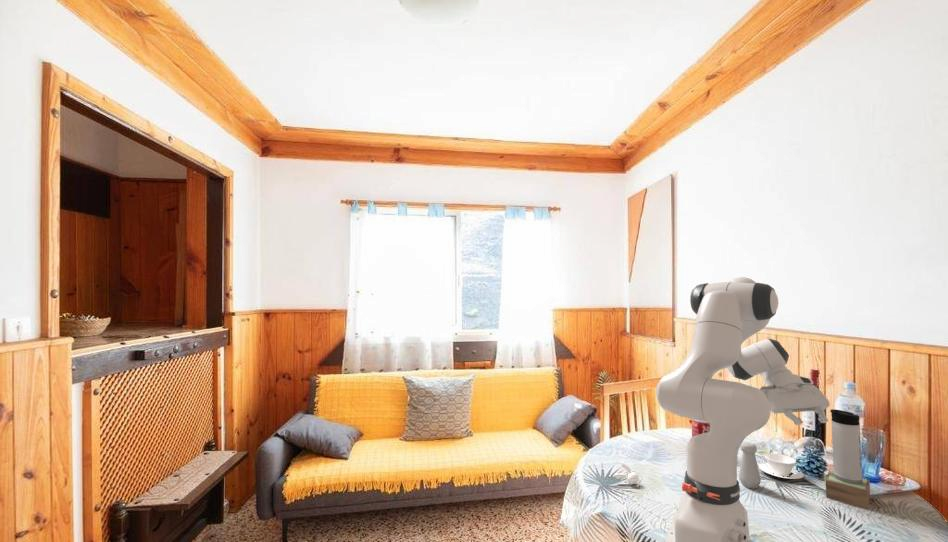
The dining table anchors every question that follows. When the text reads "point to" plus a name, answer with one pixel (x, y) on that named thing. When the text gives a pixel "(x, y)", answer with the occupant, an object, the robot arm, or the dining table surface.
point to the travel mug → (846, 446)
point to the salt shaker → (749, 466)
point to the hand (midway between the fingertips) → (812, 423)
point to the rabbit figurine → (628, 475)
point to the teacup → (779, 466)
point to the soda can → (700, 427)
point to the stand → (848, 491)
